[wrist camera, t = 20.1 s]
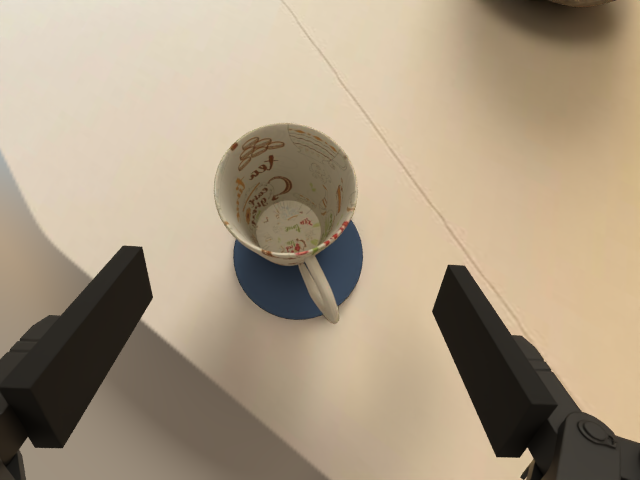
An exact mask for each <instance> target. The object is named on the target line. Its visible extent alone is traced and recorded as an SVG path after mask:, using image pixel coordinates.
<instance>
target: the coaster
mask: <svg viewBox="0 0 640 480" xmlns="http://www.w3.org/2000/svg"><path fill="white" fill-rule="evenodd" d="M315 257H316V259H317V261H318V263H319V265H320V267H321V269H322V271H323V273H324V275H325V277H326V279H327V281H328V283H329V286H330V288H331V290H332V293H333V295H334V298H335V301H336V304H337V306H339V305H340V304H341V303H342V302H343V301H344V300H345V299H346V298H347V297H348V296H349V295H350V293H351V292H352V290H353V289H354V287H355V285H356V283H357V281H358V279H359V276H360V273H361V268H362V261H363V251H362V244H361V240H360V237H359V234H358V231H357V229H356V227H355V225H354V224H353V222H352V221H351V220H350V222H349V224H348V225H347V227H346V228H345V230H344V231H343V232H342V234H341V235H340V236H339V237H338V238H337V239H336V240H335V241H334V242H333V243H332V244H330V245H329V246H328V247H326V248H325V249H323V250H322V251H321V252H319V253H318V254H316V255H315ZM233 258H234V267H235V271H236V275H237V278H238V280H239V283H240V285H241V286H242V288H243V290H244V291H245V293H246V294H247V295H248V297H249V298H250V299H251V300H252V301H253V302H254V303H255V304H257V305H258V306H259V307H260V308H262V309H263V310H265V311H267V312H269V313H271V314H273V315H276V316H278V317H282V318H286V319H294V320H299V319H310V318H314V317H318V316H321V315H323V313H322V312H321V311H320V309H319V308H318V307H317V305H316V304H315V303H314V301H313V300H312V298H311V296H310V294H309V292H308V289H307V287H306V284H305V282H304V280H303V277H302V275H301V272H300V269H299V266H298V265H294V266H283V265H278V264H275V263H273V262H271V261H269V260H267V259H265V258H264V257H262V256H260V255H259V254H257V253H255V252H253V251H252V250H250V249H248V248H247V247H245V246H244V245H243V244H241V243H240V242H239V241H238V240H237V239H236V241H235V246H234V257H233ZM304 264H305V266H306V268H307V269H308V267H307V265H306V263H305V262H304ZM308 271H309V269H308ZM309 273H310V271H309ZM310 274H311V273H310ZM311 276H312V275H311ZM312 278H313V277H312ZM313 280H314V279H313ZM314 282H315V281H314Z"/></svg>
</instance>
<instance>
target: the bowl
mask: <svg viewBox="0 0 640 480" xmlns="http://www.w3.org/2000/svg"><path fill="white" fill-rule="evenodd" d="M548 1H551V2H555V3H559V4H563V5H566V6H571V7H591V6H596V5H601V4H605V3H609V2H612V1H615V0H548Z"/></svg>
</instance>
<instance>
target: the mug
mask: <svg viewBox="0 0 640 480" xmlns="http://www.w3.org/2000/svg"><path fill="white" fill-rule="evenodd" d="M214 198H215V203H216V207H217V211H218V213H219V216H220V218H221V220H222V222H223V223H224V225H225V226H226V228H227V229H228V231H229V232H230V233H231V234H232V235H233V236H234V237H235V238H236V239H237V240H238V241H239V242H240V243H241V244H243V245H244V246H245V247H247V248H248V249H250V250H252V251H253V252H255V253H257V254H259V255H260V256H262V257H264V258H265V259H267V260H269V261H271V262H273V263H275V264H278V265H283V266H294V265H298V266H299V269H300V272H301V275H302V277H303V280H304V282H305V284H306V287H307V289H308V292H309V294H310V296H311V298H312V300H313V301H314V303H315V304H316V305H317V307H318V308H319V309H320V311H321V312H322V313H323V314H324V316H325V317H326V318H327V320H328V321H329V322H330V323H333V324H336V323H337V322H338V321H339V312H338V307H337V304H336V301H335V298H334V295H333V293H332V290H331V288H330V286H329V283H328V281H327V279H326V277H325V275H324V273H323V271H322V269H321V267H320V265H319V263H318V261H317V259H316V257H315V255H316V254H318V253H319V252H321V251H322V250H323V249H325V248H326V247H328V246H329V245H330V244H332V243H333V242H334V241H335V240H336V239H337V238H338V237H339V236H340V235H341V234H342V232H343V231H344V230H345V228H346V227H347V225H348V224H349V222H350V220H351V218H352V216H353V213H354V210H355V207H356V202H357V180H356V175H355V172H354V168H353V166H352V164H351V162H350V160H349V158H348V156H347V155H346V153H345V152H344V151H343V150H342V148H341V147H340V146H339V145H338V144H337V143H336V142H335V141H334V140H332V139H331V138H330V137H328V136H327V135H325V134H324V133H322V132H320V131H318V130H316V129H313V128H311V127H308V126H304V125H300V124H293V123H277V124H270V125H266V126H263V127H259V128H257V129H254V130H252V131H250V132H248V133H247V134H245V135H244V136H242V137H241V138H239V139H238V140H237V141H236V142H235V143H234V144H233V145H232V146H231V147H230V148H229V149H228V150H227V152H226V153H225V155H224V156H223V158H222V160H221V161H220V164H219V166H218V169H217V172H216V176H215V182H214ZM304 262H305V263H306V265H307V267H308V269H309V271H310V273H311V274H310V273H309V271H308V269H307V268H306V266H305V264H304ZM311 275H312V276H311ZM312 277H313V278H312ZM313 279H314V280H313ZM314 281H315V282H314Z"/></svg>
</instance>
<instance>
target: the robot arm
mask: <svg viewBox="0 0 640 480" xmlns="http://www.w3.org/2000/svg"><path fill="white" fill-rule="evenodd" d="M152 298H153V296H152V291H151V286H150V282H149V277H148V272H147V267H146V263H145V258H144V253H143V249H142V247H137V246H122V247H121V249H120V250H119V251H118V252H117V253H116V254H115V255H114V256H113V258H112V259H111V260H110V261H109V262H108V263H107V264H106V265H105V267H104V268H103V269H102V270H101V271H100V272H99V273H98V274H97V276H96V277H95V278H94V279H93V280H92V281H91V282H90V283H89V285H88V286H87V287H86V288H85V289H84V290H83V291H82V292H81V294H80V295H79V296H78V297H77V298H76V299H75V300H74V301H73V303H72V304H71V305H70V306H69V307H68V308H67V309H66V310H65V312H64V313H63V314H62V315H61V316H55V315H49V316H47V317H46V318H44V319H42V320H41V321H39V322H38V323H36V324H35V325H33V326H32V327H31V328H30V329H29V330H28V331H27V332H26V333H25V334H24V335H23V336H22V337H21V338H20V341H18V342H16V344H15V345H14V346H13V347H12V348H11V349H10V351H9V352H7V353H6V354H5V355H4V356H3V357H2V358H1V359H0V480H26V477H25V470H24V464H23V458H22V454H21V453H20V451H19V448H20V447H21V446H22V444H23V443H24V441H25V440H26V438H27V437H29V439H30V440H31V442H32V444H33V445H34V447H35V448H63V447H64V445H65V443H66V442H67V440H68V438H69V437H70V435H71V433H72V432H73V430H74V429H75V427H76V425H77V423H78V422H79V420H80V419H81V417H82V415H83V413H84V412H85V410H86V409H87V407H88V405H89V403H90V402H91V400H92V398H93V397H94V395H95V393H96V392H97V390H98V388H99V387H100V385H101V383H102V382H103V380H104V378H105V377H106V375H107V373H108V371H109V370H110V368H111V367H112V365H113V363H114V362H115V360H116V358H117V357H118V355H119V353H120V352H121V350H122V348H123V347H124V345H125V343H126V342H127V340H128V338H129V337H130V335H131V333H132V332H133V330H134V328H135V327H136V325H137V323H138V322H139V320H140V318H141V317H142V315H143V313H144V312H145V310H146V308H147V307H148V305H149V303H150V302H151V300H152ZM432 312H433V315H434V317H435V319H436V321H437V324H438V326H439V328H440V330H441V333H442V335H443V337H444V339H445V342H446V344H447V346H448V348H449V351H450V353H451V355H452V357H453V360H454V362H455V364H456V367H457V369H458V371H459V373H460V376H461V378H462V380H463V382H464V385H465V387H466V389H467V391H468V394H469V396H470V398H471V400H472V403H473V405H474V407H475V409H476V412H477V414H478V416H479V419H480V421H481V423H482V425H483V428H484V430H485V432H486V434H487V437H488V439H489V441H490V443H491V446H492V448H493V450H494V452H495V455H496V457H515V458H520V457H521V455H522V454H523V452H524V451H525V450H526V448H527V447H528V449H529V451H530V452H531V454H532V456H533V458H534V459H533V461H532V462H531V463H530V464H529V466H528V467H527V468H526V470H525V471H524V472H523V474H522V475H521V477H520V478H522V479H523V480H524V479H525V478H526V477H527V479H526V480H640V443H637V442H634V441H631V440H628V439H625V438H622V437H618V436H616V435H615V434H614V433H613V431H612V430H611V429H610V428H608V427H607V426H606V425H605V424H604V423H603V422H601V421H600V420H598V419H597V418H595V417H594V416H591V415H589V414H587V413H584V412H582V411H581V410H580V409H579V408H578V406H577V405H576V403H575V402H574V401H573V399H572V398H571V396H570V395H569V394H568V392H567V391H566V389H565V388H564V387H563V385H562V384H561V383H560V381H559V380H558V378H557V377H556V376H555V374H554V373H553V372H551V369H550V367H549V366H548V365H547V363H546V362H544V359H543V358H542V356H541V355H540V353H539V352H538V351H537V349H536V348H535V347H534V346H533V345H532V344H531V343H530V342H528V341H527V340H526V339H525V338H524V337H522V336H516V335H511V334H510V332H509V331H508V329H507V328H506V326H505V325H504V323H503V322H502V320H501V319H500V317H499V316H498V314H497V313H496V311H495V310H494V308H493V307H492V305H491V304H490V302H489V301H488V300H487V298H486V297H485V295H484V294H483V292H482V291H481V289H480V288H479V286H478V285H477V283H476V282H475V280H474V279H473V277H472V276H471V274H470V273H469V271H468V270H467V268H466V267H465V266H460V265H448V267H447V269H446V272H445V275H444V278H443V281H442V284H441V287H440V290H439V293H438V296H437V299H436V302H435V305H434V307H433V310H432Z"/></svg>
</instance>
